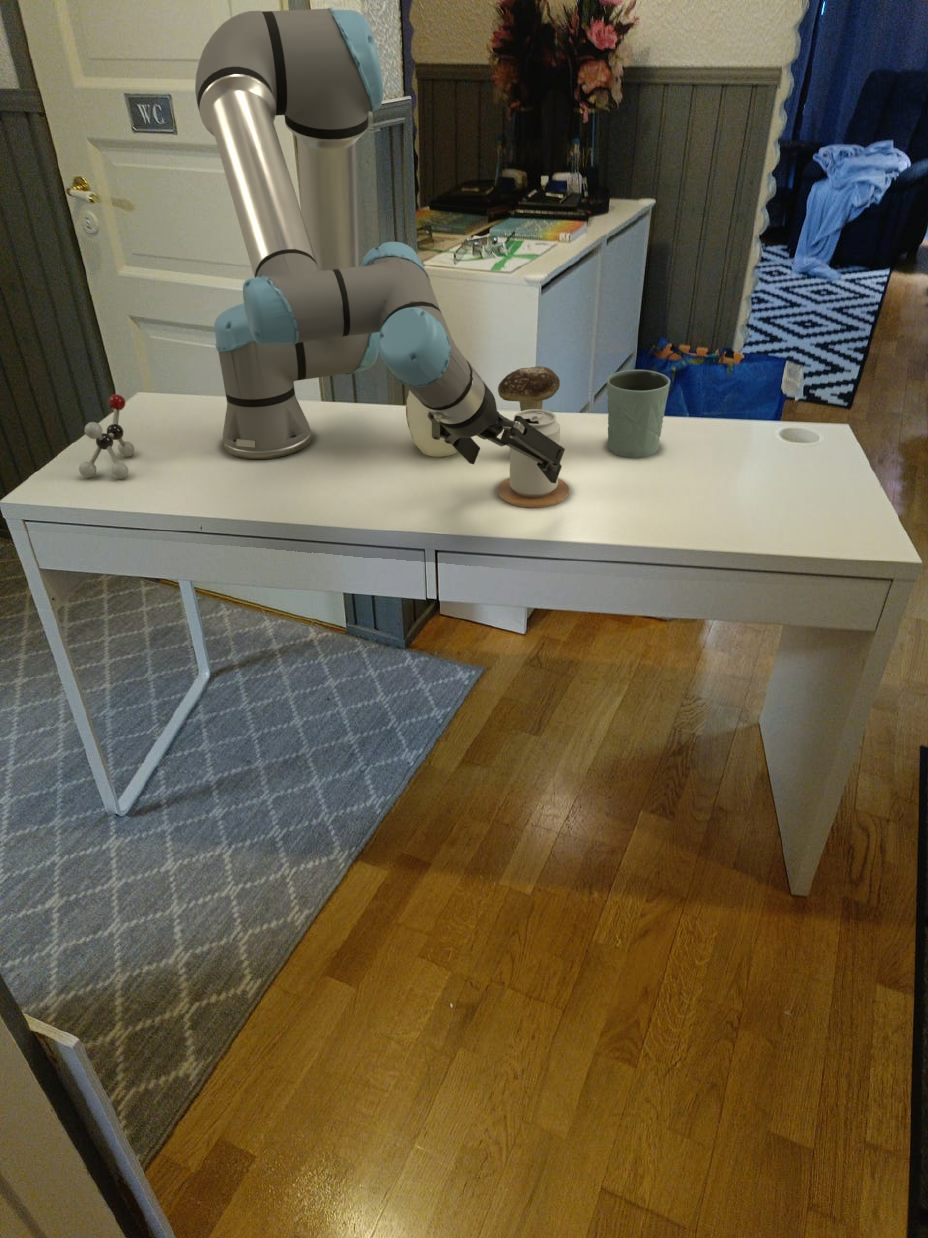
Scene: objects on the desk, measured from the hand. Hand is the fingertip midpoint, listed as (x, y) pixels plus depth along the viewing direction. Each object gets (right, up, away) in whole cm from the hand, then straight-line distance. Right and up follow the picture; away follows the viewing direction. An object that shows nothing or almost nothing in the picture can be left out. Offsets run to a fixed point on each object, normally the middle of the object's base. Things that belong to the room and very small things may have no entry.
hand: (514, 464), depth 129 cm
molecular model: (-66, +3, +20) cm, 69 cm away
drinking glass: (+21, +6, +21) cm, 31 cm away
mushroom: (+4, +5, +19) cm, 20 cm away
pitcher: (-11, +7, +23) cm, 27 cm away
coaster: (+3, -3, +8) cm, 9 cm away
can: (+3, -3, +8) cm, 9 cm away
